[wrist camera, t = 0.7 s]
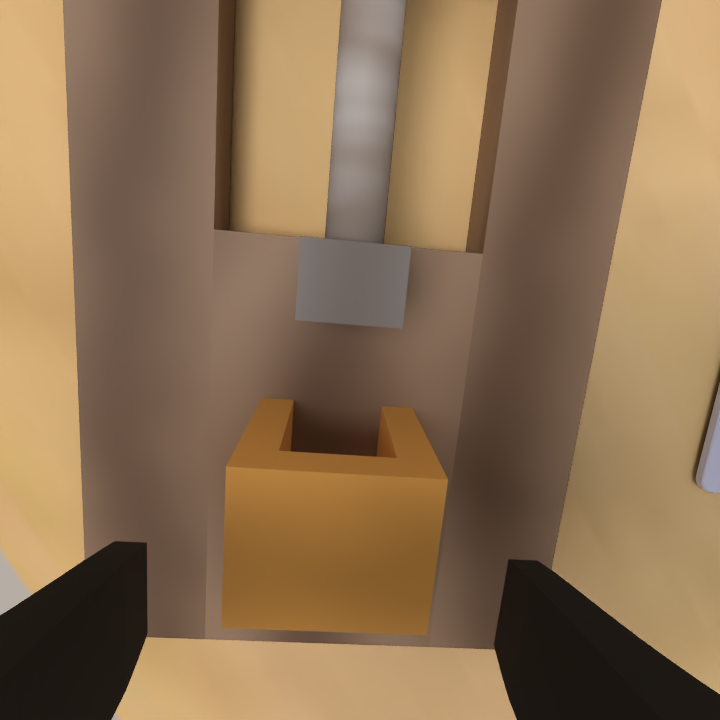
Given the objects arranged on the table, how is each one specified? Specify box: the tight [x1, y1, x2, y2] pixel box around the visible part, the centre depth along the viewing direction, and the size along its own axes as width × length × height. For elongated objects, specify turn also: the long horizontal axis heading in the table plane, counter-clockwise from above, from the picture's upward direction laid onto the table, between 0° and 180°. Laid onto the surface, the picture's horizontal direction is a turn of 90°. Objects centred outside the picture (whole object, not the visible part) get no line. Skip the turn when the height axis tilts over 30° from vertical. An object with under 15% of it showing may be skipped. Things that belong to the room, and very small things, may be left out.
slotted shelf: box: [63, 0, 662, 649], centre depth 14 cm, size 16×24×6 cm, turn 175°
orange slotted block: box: [221, 398, 448, 635], centre depth 13 cm, size 5×4×5 cm
